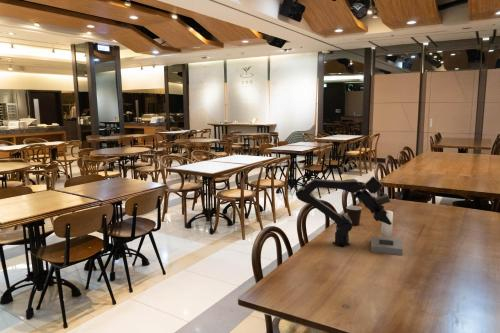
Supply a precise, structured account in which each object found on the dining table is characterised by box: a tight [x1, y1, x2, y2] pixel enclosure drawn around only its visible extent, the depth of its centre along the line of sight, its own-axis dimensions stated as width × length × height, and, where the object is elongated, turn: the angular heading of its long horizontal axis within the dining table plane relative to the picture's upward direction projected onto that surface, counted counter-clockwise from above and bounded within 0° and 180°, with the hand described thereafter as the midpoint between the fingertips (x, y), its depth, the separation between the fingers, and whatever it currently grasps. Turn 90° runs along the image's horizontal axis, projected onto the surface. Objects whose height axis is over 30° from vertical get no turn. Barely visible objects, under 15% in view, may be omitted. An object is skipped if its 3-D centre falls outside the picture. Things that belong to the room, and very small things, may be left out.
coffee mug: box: [345, 205, 362, 227], centre depth 222 cm, size 12×9×10 cm
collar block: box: [370, 236, 403, 256], centre depth 184 cm, size 14×14×3 cm
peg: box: [380, 210, 394, 238], centre depth 184 cm, size 5×5×12 cm
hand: (390, 222), depth 184 cm, fingers closed on peg, 5 cm apart
